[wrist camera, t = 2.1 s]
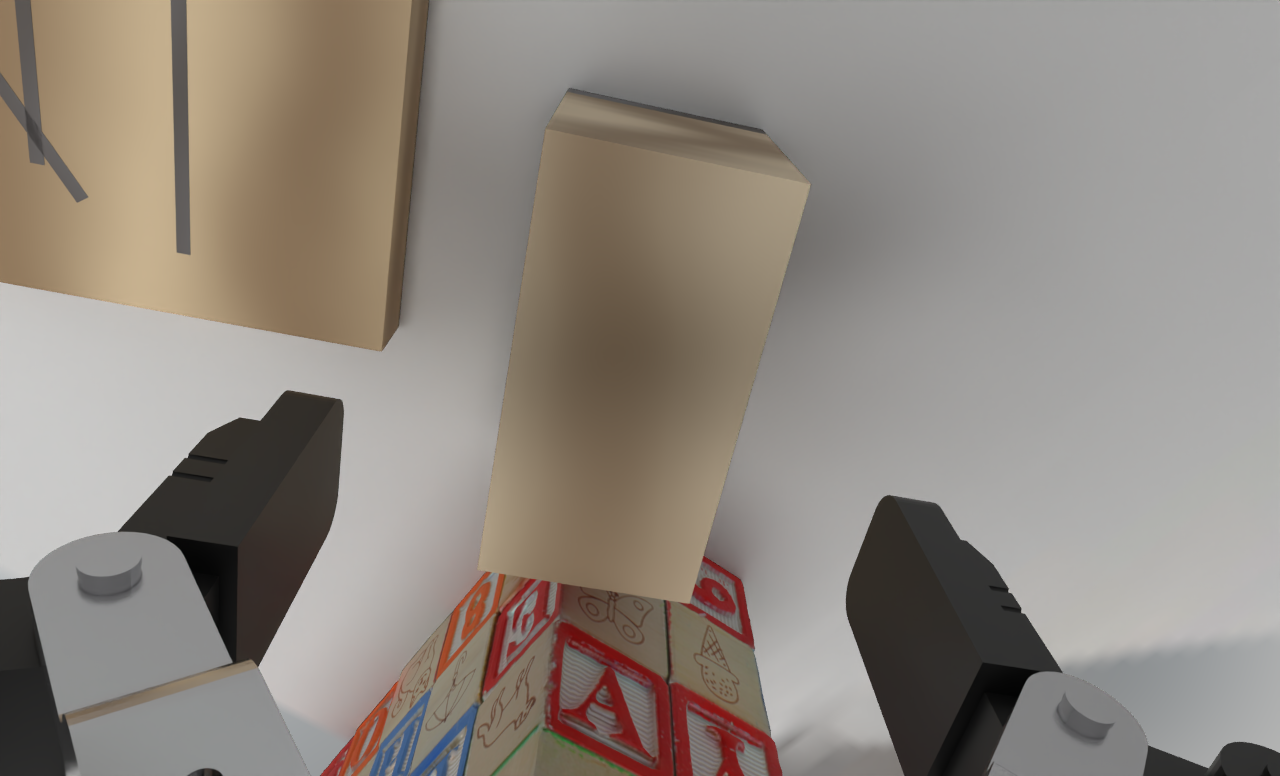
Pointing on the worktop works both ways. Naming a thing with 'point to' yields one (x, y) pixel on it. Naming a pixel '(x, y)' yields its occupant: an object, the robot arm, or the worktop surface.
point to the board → (214, 157)
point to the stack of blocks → (576, 688)
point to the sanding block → (635, 343)
